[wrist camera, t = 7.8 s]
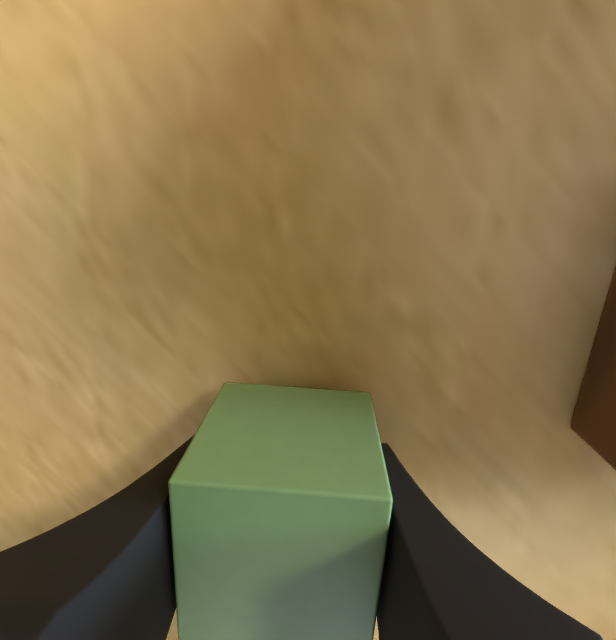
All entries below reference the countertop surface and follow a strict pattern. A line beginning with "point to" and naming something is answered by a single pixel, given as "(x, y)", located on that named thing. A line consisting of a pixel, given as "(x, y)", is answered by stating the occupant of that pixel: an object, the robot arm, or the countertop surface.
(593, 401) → the walnut block
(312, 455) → the green block
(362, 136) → the countertop surface
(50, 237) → the countertop surface
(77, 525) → the robot arm
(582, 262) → the countertop surface
